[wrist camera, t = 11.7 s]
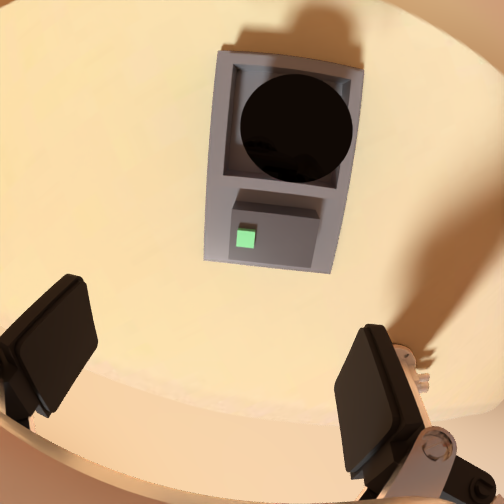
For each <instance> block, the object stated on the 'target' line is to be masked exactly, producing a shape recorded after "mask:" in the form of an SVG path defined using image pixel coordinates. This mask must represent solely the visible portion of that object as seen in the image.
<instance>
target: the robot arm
mask: <svg viewBox="0 0 504 504" xmlns="http://www.w3.org/2000/svg"><path fill="white" fill-rule="evenodd" d="M97 345H98V338H97V334H96V330H95V325H94V321H93V316H92V311H91V306H90V301H89V296H88V290H87V285H86V283H85V282H84V281H83V279H82V277H80V276H76V275H72V274H66V275H64V276H63V277H62V278H61V279H60V280H59V281H58V282H56V283H55V284H54V285H53V286H52V287H51V288H50V289H49V290H48V291H46V292H45V293H44V294H43V295H42V296H41V297H40V298H39V299H38V300H37V301H36V302H35V303H33V304H32V305H31V306H30V307H29V308H28V309H27V310H26V311H25V312H24V313H23V314H22V315H21V316H20V317H19V318H18V319H17V320H16V321H15V322H14V323H13V324H12V325H11V326H10V327H9V328H8V329H7V330H6V331H5V332H4V333H3V334H2V335H1V336H0V504H287V503H264V502H251V501H241V500H233V499H226V498H219V497H212V496H207V495H201V494H196V493H191V492H186V491H182V490H177V489H173V488H169V487H165V486H161V485H158V484H154V483H151V482H147V481H144V480H140V479H138V478H134V477H131V476H128V475H126V474H122V473H120V472H117V471H114V470H112V469H109V468H106V467H104V466H101V465H99V464H96V463H94V462H92V461H89V460H87V459H85V458H82V457H80V456H78V455H76V454H74V453H71V452H69V451H68V450H66V449H64V448H62V447H60V446H58V445H56V444H54V443H52V442H50V441H48V440H46V439H45V438H43V437H41V436H39V435H38V434H36V430H35V424H34V419H33V413H34V411H35V410H36V411H37V413H39V414H41V415H43V416H45V417H46V418H49V416H50V415H51V413H54V412H55V411H56V410H57V409H58V407H59V405H60V404H61V402H62V401H63V399H64V397H65V396H66V394H67V392H68V391H69V389H70V388H71V386H72V384H73V383H74V381H75V380H76V378H77V377H78V375H79V374H80V372H81V370H82V369H83V368H84V366H85V365H86V363H87V362H88V360H89V359H90V357H91V356H92V354H93V353H94V351H95V350H96V348H97ZM415 367H416V359H415V357H414V354H413V353H412V351H411V350H410V349H409V348H407V347H405V346H403V345H397V344H392V342H391V340H390V338H389V336H388V333H387V331H386V329H385V327H384V326H383V325H376V324H366V325H365V327H364V328H360V329H359V331H358V333H357V336H356V338H355V340H354V343H353V345H352V347H351V349H350V352H349V354H348V356H347V358H346V361H345V363H344V365H343V367H342V369H341V371H340V373H339V375H338V377H337V379H336V382H335V386H334V393H335V399H336V405H337V411H338V418H339V424H340V431H341V438H342V445H343V453H344V461H345V468H346V471H347V472H350V474H351V479H352V480H353V479H362V478H364V483H365V488H364V489H363V490H362V492H361V493H360V494H359V496H358V497H357V498H356V500H355V501H352V502H340V503H339V502H338V503H317V504H504V498H502V496H501V495H500V494H498V495H497V496H495V494H496V484H495V481H494V479H493V478H492V476H491V475H489V474H488V473H487V472H485V471H483V470H481V469H480V468H478V467H476V466H474V465H472V464H471V463H469V462H467V461H466V460H464V459H462V458H460V457H458V456H457V455H456V452H457V446H456V441H455V439H454V437H453V436H452V435H451V434H450V432H448V431H447V430H445V429H444V428H441V427H437V426H432V425H431V422H430V419H429V417H428V414H427V412H426V409H425V406H424V404H423V401H422V399H421V396H420V394H419V393H425V392H427V391H428V389H429V383H428V382H427V381H429V378H430V376H429V374H428V373H425V374H417V373H416V371H415ZM312 504H316V503H312Z"/></svg>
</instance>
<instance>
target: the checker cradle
mask: <svg viewBox="0 0 504 504" xmlns="http://www.w3.org/2000/svg"><path fill="white" fill-rule="evenodd" d="M287 74H302V75H308V76H312V77H314V78H317V79H319V80H321V81H323V82H325V83H327V84H328V85H330V86H331V87H332V88H333V89H334V90H336V91H337V92H338V94H339V95H340V96H341V97H342V99H343V100H344V101H345V103H346V105H347V107H348V109H349V112H350V115H351V119H352V125H353V136H352V142H351V146H350V149H349V151H348V153H347V155H346V157H345V158H344V160H343V161H342V163H341V164H340V165H339V166H338V167H337V168H336V169H335V170H334V171H332V172H331V173H330V174H328V175H326V176H325V177H322V178H320V179H318V180H315V181H311V182H305V183H292V182H286V181H282V180H279V179H276V178H274V177H272V176H270V175H268V174H266V173H265V172H263V171H262V170H261V169H260V168H259V167H257V166H256V165H255V163H254V162H253V161H252V160H251V159H250V157H249V156H248V154H247V152H246V150H245V148H244V146H243V143H242V139H241V134H240V120H241V115H242V111H243V108H244V106H245V104H246V102H247V100H248V98H249V97H250V96H251V94H252V93H253V92H254V91H255V90H256V89H257V88H258V87H259V86H260V85H262V84H263V83H265V82H266V81H268V80H270V79H272V78H275V77H278V76H282V75H287ZM363 78H364V70H362V69H358V68H354V67H350V66H345V65H341V64H336V63H331V62H326V61H321V60H315V59H309V58H302V57H295V56H288V55H279V54H270V53H258V52H243V51H218V54H217V63H216V72H215V81H214V92H213V102H212V113H211V125H210V138H209V152H208V168H207V185H206V205H205V230H204V260H205V261H214V262H223V263H231V264H240V265H249V266H258V267H267V268H277V269H286V270H296V271H305V272H315V273H325V274H331V269H332V265H333V261H334V257H335V252H336V248H337V244H338V239H339V234H340V230H341V225H342V220H343V215H344V210H345V205H346V200H347V194H348V189H349V183H350V177H351V171H352V165H353V159H354V153H355V146H356V139H357V132H358V124H359V116H360V108H361V99H362V89H363Z"/></svg>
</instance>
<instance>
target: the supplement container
mask: <svg viewBox="0 0 504 504" xmlns="http://www.w3.org/2000/svg"><path fill="white" fill-rule="evenodd" d="M240 134H241V139H242V143H243V146H244V148H245V150H246V152H247V154H248V156H249V157H250V159H251V160H252V161H253V162H254V163H255V165H256V166H257V167H259V168H260V169H261V170H262V171H263V172H265V173H266V174H268V175H270V176H272V177H274V178H276V179H279V180H282V181H286V182H292V183H305V182H311V181H315V180H318V179H320V178H322V177H325V176H326V175H328V174H330V173H331V172H332V171H334V170H335V169H336V168H337V167H338V166H339V165H340V164H341V163H342V161H343V160H344V158H345V157H346V155H347V153H348V151H349V149H350V146H351V142H352V136H353V125H352V119H351V115H350V112H349V109H348V107H347V105H346V103H345V101H344V100H343V99H342V97H341V96H340V95H339V94H338V92H337V91H336V90H334V89H333V88H332V87H331V86H330V85H328V84H327V83H325V82H323V81H321V80H319V79H317V78H314V77H312V76H308V75H302V74H287V75H282V76H278V77H275V78H272V79H270V80H268V81H266V82H265V83H263V84H262V85H260V86H259V87H258V88H257V89H256V90H255V91H254V92H253V93H252V94H251V96H250V97H249V98H248V100H247V102H246V104H245V106H244V108H243V111H242V115H241V120H240Z"/></svg>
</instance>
